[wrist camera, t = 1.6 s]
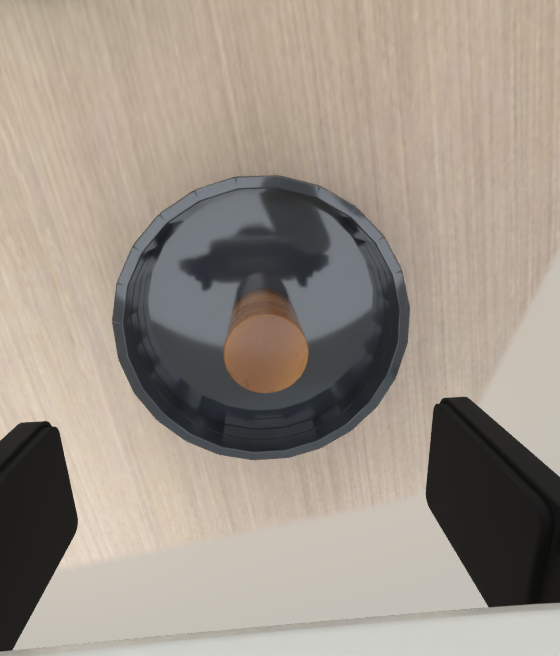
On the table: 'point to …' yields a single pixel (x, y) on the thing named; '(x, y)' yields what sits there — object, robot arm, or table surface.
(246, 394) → the slate bowl
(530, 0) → the table surface
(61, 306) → the table surface
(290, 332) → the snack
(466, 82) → the table surface
